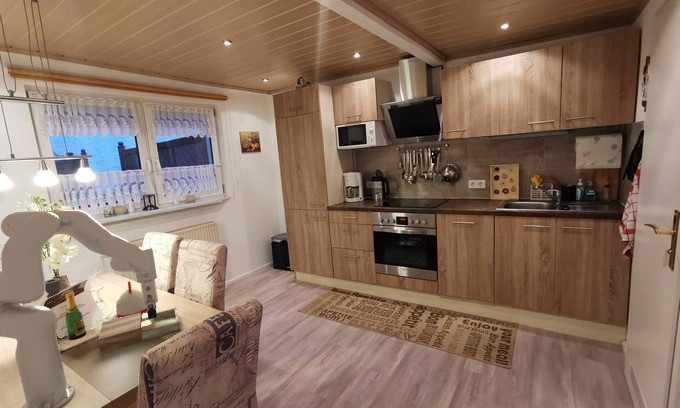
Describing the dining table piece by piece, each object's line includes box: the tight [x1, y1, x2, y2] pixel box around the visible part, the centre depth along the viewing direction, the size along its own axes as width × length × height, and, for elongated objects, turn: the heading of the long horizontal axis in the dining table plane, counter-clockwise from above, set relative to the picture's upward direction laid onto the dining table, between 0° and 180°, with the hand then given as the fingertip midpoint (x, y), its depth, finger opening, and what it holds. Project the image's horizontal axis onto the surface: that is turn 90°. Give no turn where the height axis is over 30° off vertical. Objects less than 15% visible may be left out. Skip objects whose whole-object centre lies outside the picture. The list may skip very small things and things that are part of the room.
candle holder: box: [45, 277, 63, 340], centre depth 139 cm, size 6×6×25 cm
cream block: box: [141, 312, 154, 327], centre depth 143 cm, size 5×5×4 cm
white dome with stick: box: [115, 280, 147, 318], centre depth 159 cm, size 14×14×15 cm
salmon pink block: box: [141, 319, 154, 331], centre depth 136 cm, size 5×5×4 cm
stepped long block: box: [97, 307, 181, 355], centre depth 139 cm, size 16×28×6 cm, turn 121°
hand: (152, 313), depth 141 cm, fingers open, 9 cm apart
